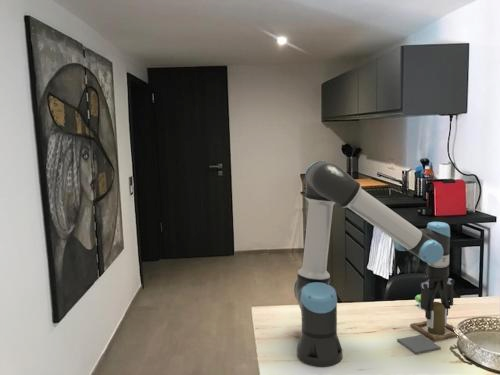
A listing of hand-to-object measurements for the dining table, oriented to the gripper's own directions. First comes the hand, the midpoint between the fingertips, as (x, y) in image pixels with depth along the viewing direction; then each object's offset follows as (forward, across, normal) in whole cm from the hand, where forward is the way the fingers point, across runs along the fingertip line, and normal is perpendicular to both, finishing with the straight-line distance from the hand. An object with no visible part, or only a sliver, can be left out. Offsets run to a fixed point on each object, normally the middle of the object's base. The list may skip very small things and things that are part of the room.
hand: (436, 325), depth 162 cm
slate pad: (+2, -13, -6) cm, 15 cm away
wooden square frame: (+2, 0, 0) cm, 2 cm away
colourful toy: (+3, +10, +20) cm, 22 cm away
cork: (+2, 0, 0) cm, 2 cm away
